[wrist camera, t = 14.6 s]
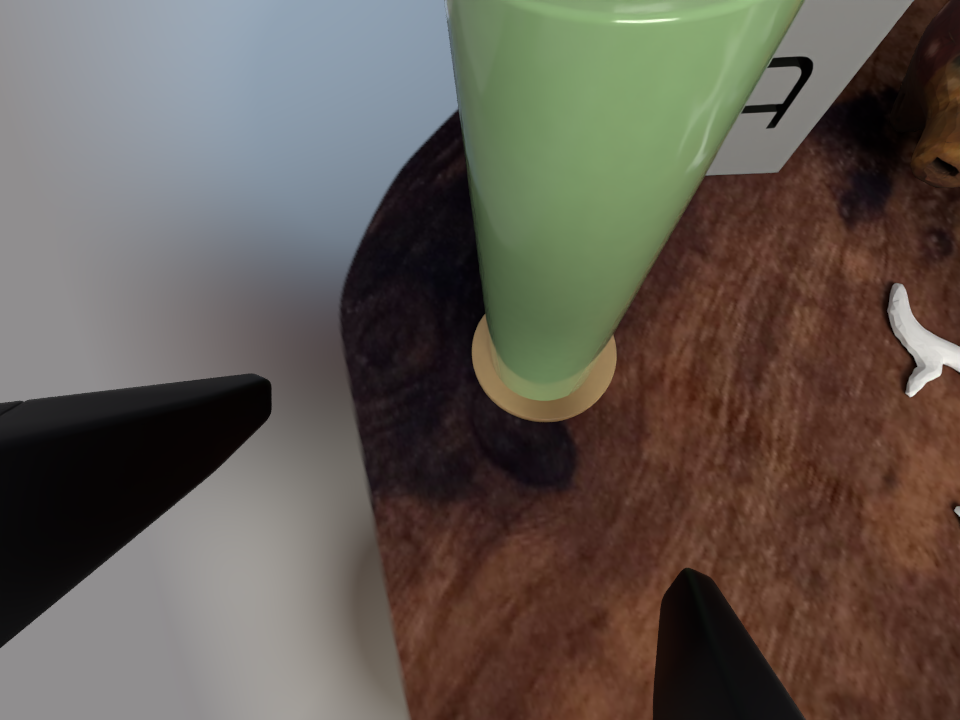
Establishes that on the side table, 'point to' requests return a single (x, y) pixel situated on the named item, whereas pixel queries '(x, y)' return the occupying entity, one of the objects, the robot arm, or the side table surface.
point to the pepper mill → (590, 155)
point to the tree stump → (920, 344)
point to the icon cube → (804, 80)
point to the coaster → (536, 408)
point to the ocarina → (934, 100)
